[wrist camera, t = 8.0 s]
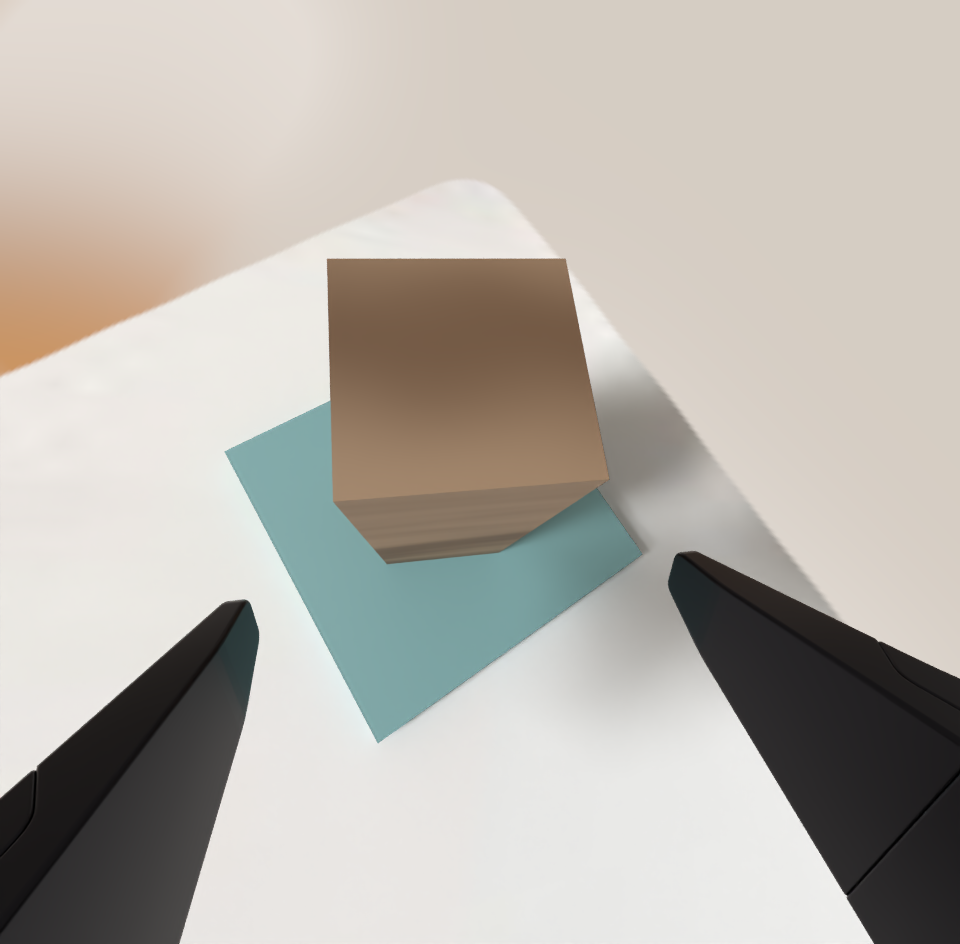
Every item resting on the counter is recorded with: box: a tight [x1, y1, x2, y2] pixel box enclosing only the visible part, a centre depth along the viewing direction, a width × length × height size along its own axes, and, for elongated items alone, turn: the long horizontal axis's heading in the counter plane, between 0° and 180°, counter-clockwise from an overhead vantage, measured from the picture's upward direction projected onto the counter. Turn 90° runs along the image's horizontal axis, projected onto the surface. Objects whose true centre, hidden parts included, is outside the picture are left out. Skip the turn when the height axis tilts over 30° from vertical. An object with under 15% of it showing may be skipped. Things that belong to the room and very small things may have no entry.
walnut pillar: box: [327, 259, 609, 564], centre depth 15 cm, size 5×5×12 cm
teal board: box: [225, 401, 642, 743], centre depth 21 cm, size 14×14×1 cm
